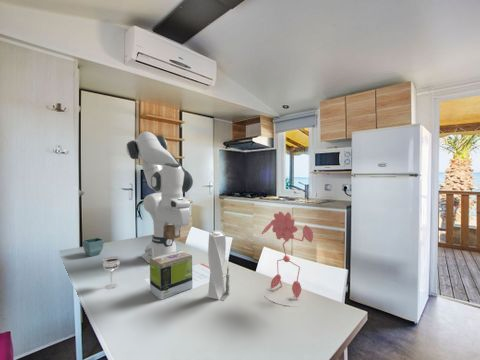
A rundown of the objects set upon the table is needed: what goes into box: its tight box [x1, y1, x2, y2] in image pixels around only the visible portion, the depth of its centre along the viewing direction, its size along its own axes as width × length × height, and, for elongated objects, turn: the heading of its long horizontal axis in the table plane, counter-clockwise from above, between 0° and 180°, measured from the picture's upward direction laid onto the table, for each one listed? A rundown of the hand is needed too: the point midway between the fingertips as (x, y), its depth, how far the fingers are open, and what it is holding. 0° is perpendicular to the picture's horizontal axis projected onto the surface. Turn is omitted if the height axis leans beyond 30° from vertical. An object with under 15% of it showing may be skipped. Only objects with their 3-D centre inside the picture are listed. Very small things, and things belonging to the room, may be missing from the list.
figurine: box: [261, 211, 314, 307], centre depth 100 cm, size 15×26×35 cm, turn 45°
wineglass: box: [102, 256, 121, 290], centre depth 106 cm, size 7×7×12 cm
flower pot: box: [82, 237, 105, 257], centre depth 147 cm, size 9×9×9 cm
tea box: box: [149, 250, 193, 300], centre depth 104 cm, size 15×10×15 cm, turn 134°
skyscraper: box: [207, 230, 231, 302], centre depth 99 cm, size 8×8×28 cm
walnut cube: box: [163, 224, 181, 240], centre depth 103 cm, size 5×5×5 cm
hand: (171, 233), depth 103 cm, fingers closed on walnut cube, 5 cm apart
